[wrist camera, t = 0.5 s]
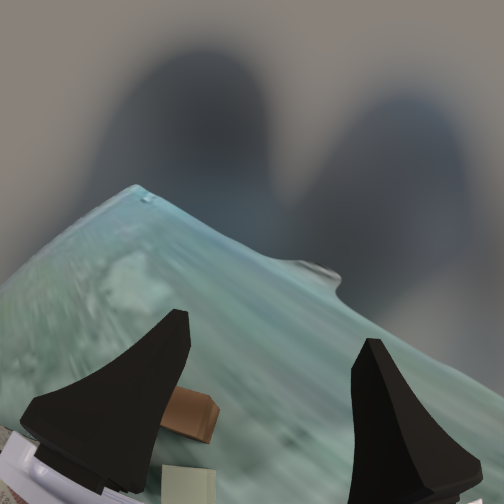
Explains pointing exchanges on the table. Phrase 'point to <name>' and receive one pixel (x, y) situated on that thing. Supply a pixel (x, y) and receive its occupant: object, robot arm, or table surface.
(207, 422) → the walnut block
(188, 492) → the sage block
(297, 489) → the table surface
